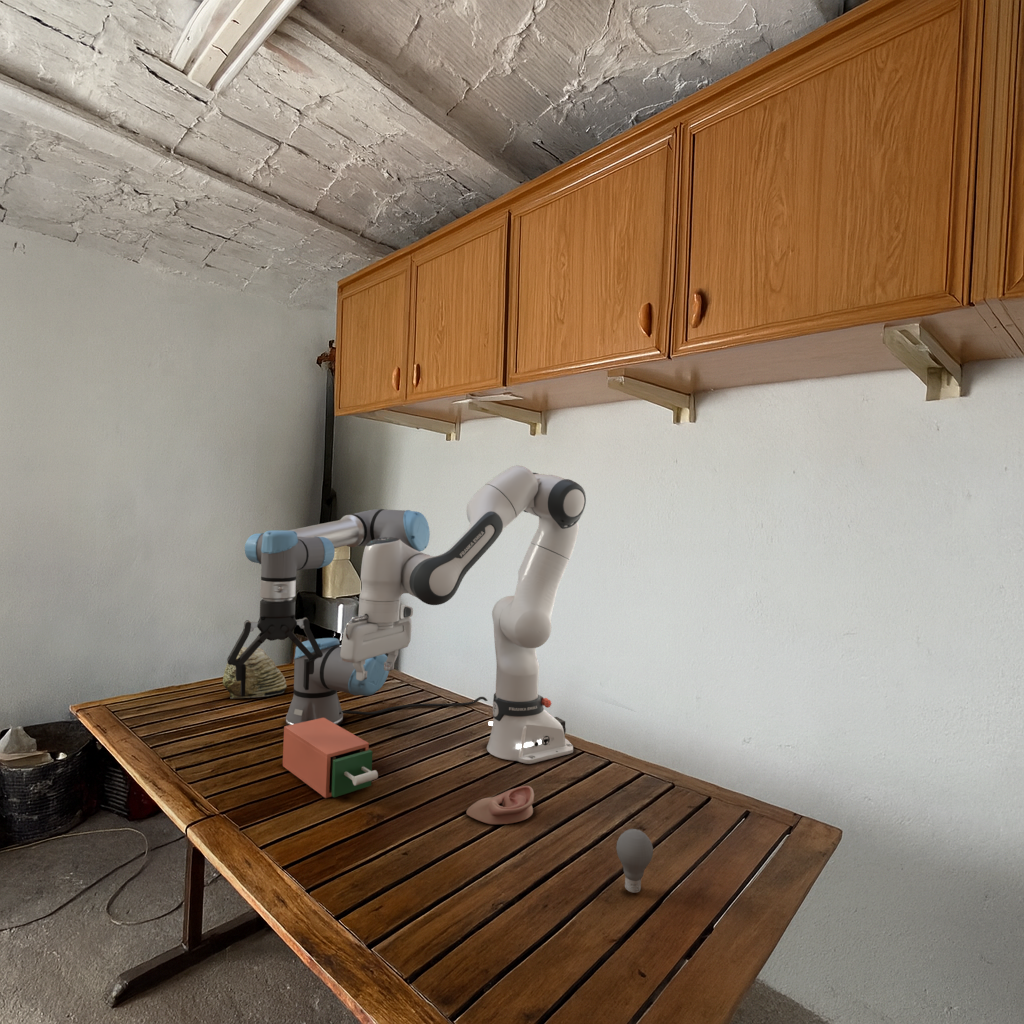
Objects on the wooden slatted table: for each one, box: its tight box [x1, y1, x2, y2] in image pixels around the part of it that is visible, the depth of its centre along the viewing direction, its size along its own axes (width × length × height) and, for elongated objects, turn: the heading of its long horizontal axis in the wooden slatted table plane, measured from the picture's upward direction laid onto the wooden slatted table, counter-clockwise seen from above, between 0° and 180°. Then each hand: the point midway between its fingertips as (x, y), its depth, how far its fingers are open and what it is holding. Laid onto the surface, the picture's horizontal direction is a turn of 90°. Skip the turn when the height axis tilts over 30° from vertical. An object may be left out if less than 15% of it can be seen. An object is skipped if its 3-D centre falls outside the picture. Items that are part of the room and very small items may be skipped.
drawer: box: [329, 749, 379, 798], centre depth 140 cm, size 25×9×8 cm, turn 44°
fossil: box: [222, 646, 288, 699], centre depth 198 cm, size 9×18×15 cm, turn 132°
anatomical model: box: [465, 785, 535, 825], centre depth 130 cm, size 13×4×12 cm
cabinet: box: [282, 718, 370, 799], centre depth 144 cm, size 21×10×9 cm, turn 45°
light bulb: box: [615, 828, 654, 894], centre depth 106 cm, size 6×6×10 cm
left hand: (275, 691), depth 144 cm, fingers open, 13 cm apart
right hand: (375, 674), depth 138 cm, fingers open, 8 cm apart
